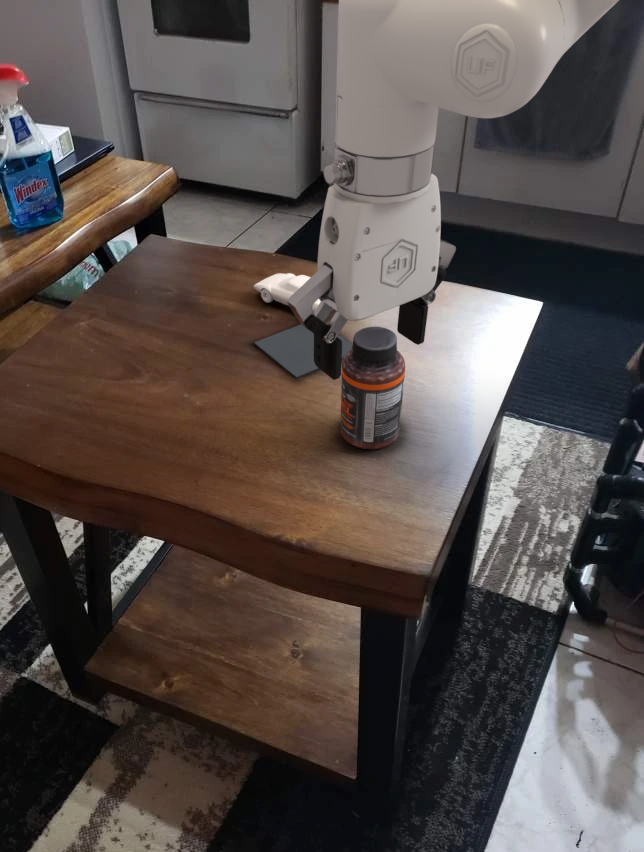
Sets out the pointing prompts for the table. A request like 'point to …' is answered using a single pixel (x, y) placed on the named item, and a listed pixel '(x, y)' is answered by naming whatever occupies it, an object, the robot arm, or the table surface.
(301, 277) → the toy car
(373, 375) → the supplement bottle
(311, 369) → the mat
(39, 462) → the table surface
